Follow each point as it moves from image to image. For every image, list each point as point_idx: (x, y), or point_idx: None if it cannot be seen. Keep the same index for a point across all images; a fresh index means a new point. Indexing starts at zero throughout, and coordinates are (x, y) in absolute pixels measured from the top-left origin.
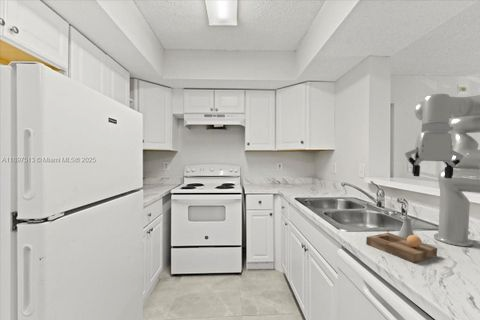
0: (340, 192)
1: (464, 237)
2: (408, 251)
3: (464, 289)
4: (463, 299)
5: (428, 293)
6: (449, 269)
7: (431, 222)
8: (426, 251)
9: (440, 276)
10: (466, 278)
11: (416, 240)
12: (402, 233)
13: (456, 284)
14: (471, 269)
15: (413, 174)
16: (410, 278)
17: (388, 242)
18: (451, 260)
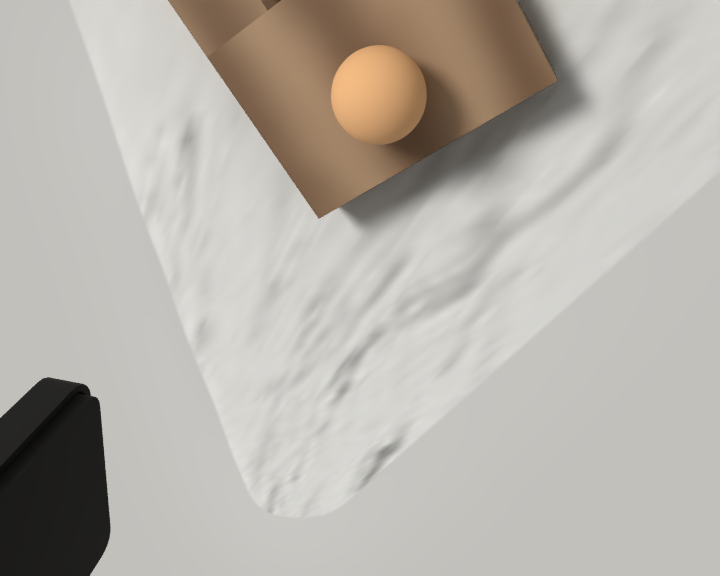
0: None
1: None
2: (306, 175)
3: (408, 407)
4: (353, 458)
5: (254, 433)
6: (486, 250)
7: None
8: (431, 153)
9: (382, 321)
10: (496, 330)
11: (369, 142)
12: None
13: (404, 377)
14: (622, 236)
15: (32, 393)
16: (238, 346)
17: (238, 16)
18: (608, 124)
